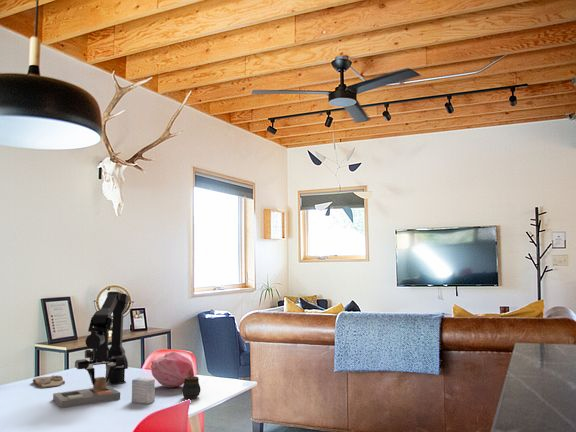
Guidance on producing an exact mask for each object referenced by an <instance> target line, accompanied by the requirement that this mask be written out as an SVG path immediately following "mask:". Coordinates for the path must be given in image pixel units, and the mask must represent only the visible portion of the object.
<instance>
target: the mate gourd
mask: <svg viewBox="0 0 576 432" xmlns="http://www.w3.org/2000/svg"><path fill="white" fill-rule="evenodd" d="M190 375H191V376H189V377H185V380H184V381H185V382H184V384H183V385H182V390H181V393H182V396H183V397H184V398H185V399H187V400H193V399H197V398H198V397H199V396H200V394H201V390H202V389H201V386H200V383H199V380H200V379H199V376H195V375H194V376H192V373H191V371H190Z"/></svg>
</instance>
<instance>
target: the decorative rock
mask: <svg viewBox="0 0 576 432" xmlns="http://www.w3.org/2000/svg"><path fill="white" fill-rule="evenodd" d="M150 368H151V375H152V377H153V379H154V380H156V381H157V382H158V383H159V384H160V385H161V386H163V387H166V388H168V389H170V388H175V387H180V386H183V385H184V382H185V381H184V380H185V377H189V376H191V375H190V371H191V373H192V376H195V372H194V367H193V362H192V361H191V359H190V358H189V357H187V356H184V355H182V354H180V353H178V352H176V351H171V352H169V353H165V354H164V355H161V356H159V357H157V358H156V359H152V360H151V365H150Z"/></svg>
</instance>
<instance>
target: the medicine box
mask: <svg viewBox="0 0 576 432" xmlns="http://www.w3.org/2000/svg"><path fill="white" fill-rule="evenodd" d="M155 380H156V379H155V378H146V377H136V378H134V379H132V380H131V403H137V404H146V405H149V404H152V403H154V402H155V399H156V398H155V397H156V395H155V389H156V388H155Z"/></svg>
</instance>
